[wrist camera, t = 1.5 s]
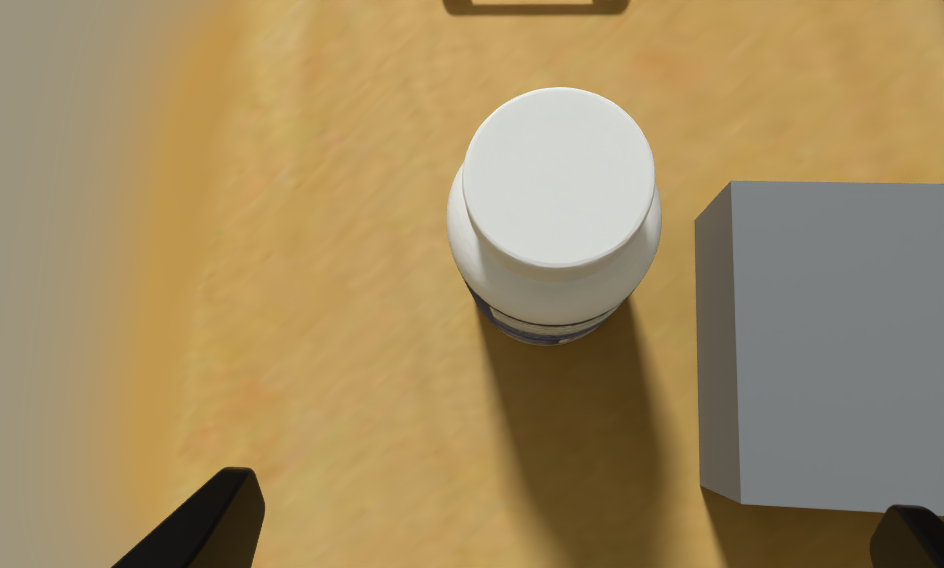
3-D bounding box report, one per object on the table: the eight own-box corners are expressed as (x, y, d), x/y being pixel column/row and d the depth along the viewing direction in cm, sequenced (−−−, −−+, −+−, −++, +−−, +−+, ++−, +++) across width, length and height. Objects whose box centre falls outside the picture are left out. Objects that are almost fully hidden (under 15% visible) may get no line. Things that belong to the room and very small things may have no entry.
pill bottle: (479, 192, 23) (447, 42, 14) (627, 207, 23) (703, 62, 13) (459, 338, 22) (409, 286, 13) (613, 357, 22) (683, 319, 12)
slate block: (994, 501, 20) (1110, 525, 16) (699, 485, 21) (741, 504, 17) (965, 225, 21) (1064, 185, 18) (694, 220, 22) (731, 180, 18)
